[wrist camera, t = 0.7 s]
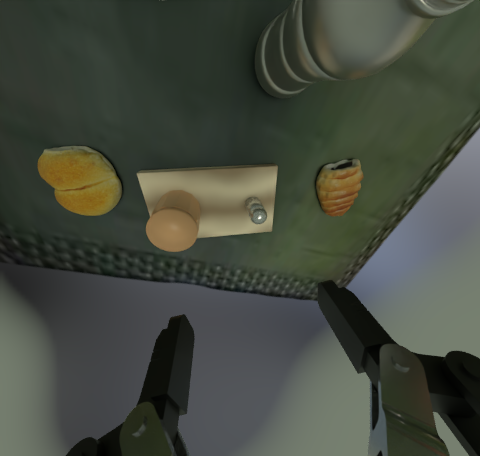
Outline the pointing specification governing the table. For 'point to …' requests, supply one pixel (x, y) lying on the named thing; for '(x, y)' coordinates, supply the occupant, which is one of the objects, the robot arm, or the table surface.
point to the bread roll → (81, 179)
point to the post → (256, 210)
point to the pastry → (339, 186)
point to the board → (217, 194)
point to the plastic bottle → (340, 40)
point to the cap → (174, 221)
